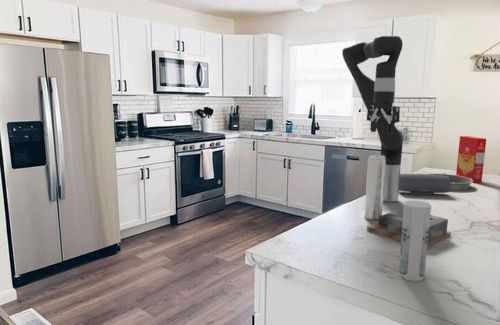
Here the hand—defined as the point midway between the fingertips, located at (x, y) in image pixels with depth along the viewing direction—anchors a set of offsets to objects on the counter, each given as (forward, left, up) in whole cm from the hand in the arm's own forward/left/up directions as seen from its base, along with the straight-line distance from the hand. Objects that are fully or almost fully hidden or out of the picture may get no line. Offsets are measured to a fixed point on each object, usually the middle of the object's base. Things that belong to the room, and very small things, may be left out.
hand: (381, 132), depth 144 cm
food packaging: (-7, +103, -34) cm, 108 cm away
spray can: (+36, -37, -34) cm, 62 cm away
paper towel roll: (+1, -3, -34) cm, 34 cm away
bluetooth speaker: (-7, +50, -34) cm, 61 cm away
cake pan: (-8, +78, -34) cm, 85 cm away
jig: (+18, -8, -34) cm, 39 cm away
